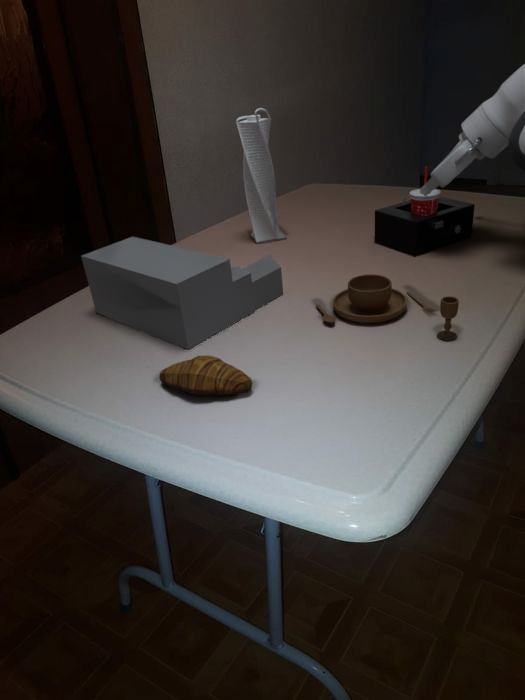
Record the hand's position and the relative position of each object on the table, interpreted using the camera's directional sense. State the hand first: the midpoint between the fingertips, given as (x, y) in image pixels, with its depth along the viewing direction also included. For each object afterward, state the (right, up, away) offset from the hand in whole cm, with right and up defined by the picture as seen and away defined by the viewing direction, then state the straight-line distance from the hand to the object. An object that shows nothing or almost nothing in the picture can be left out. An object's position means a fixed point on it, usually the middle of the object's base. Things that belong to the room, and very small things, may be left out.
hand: (428, 186), depth 112 cm
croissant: (-41, -38, -37) cm, 67 cm away
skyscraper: (-33, -7, +16) cm, 37 cm away
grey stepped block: (-47, -25, -12) cm, 54 cm away
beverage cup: (0, -9, +5) cm, 10 cm away
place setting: (-15, -28, -24) cm, 40 cm away
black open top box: (0, -10, +6) cm, 11 cm away
